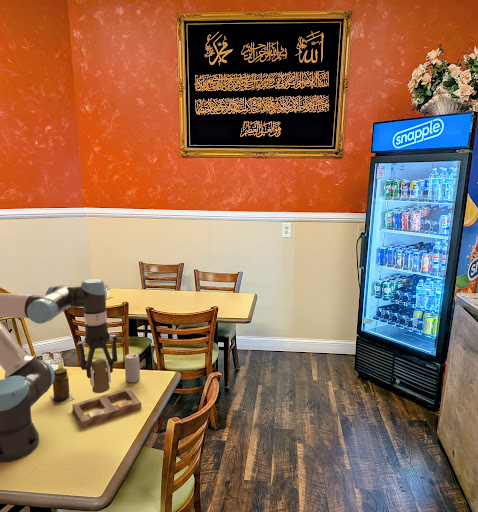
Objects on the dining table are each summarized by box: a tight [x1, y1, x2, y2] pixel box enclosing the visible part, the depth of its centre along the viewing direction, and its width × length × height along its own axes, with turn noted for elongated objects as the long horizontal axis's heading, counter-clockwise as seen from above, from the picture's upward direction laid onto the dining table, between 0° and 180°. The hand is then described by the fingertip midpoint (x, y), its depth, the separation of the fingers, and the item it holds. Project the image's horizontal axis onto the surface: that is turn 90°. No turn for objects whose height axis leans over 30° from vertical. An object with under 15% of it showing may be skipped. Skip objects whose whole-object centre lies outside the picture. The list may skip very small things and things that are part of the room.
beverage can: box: [124, 352, 141, 383], centre depth 177 cm, size 6×6×12 cm
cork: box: [91, 358, 111, 394], centre depth 141 cm, size 6×6×11 cm
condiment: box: [50, 367, 75, 406], centre depth 161 cm, size 7×8×12 cm
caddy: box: [71, 387, 142, 429], centre depth 155 cm, size 23×14×3 cm, turn 126°
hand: (100, 382), depth 141 cm, fingers closed on cork, 5 cm apart
